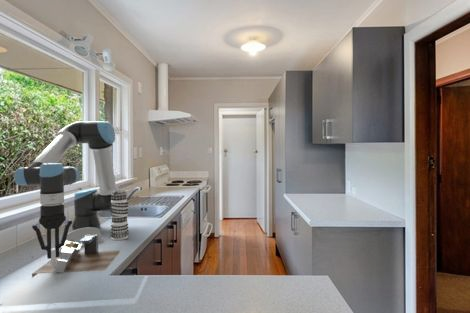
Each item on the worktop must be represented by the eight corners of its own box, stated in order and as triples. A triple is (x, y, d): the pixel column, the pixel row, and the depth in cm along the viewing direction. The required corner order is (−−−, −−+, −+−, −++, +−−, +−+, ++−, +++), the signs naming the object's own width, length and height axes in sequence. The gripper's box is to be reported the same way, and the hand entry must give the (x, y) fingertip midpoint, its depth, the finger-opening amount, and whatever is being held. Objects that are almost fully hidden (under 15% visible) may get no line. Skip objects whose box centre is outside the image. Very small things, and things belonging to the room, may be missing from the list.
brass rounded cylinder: (68, 259, 120) (67, 242, 119) (75, 259, 120) (74, 241, 120) (64, 262, 117) (64, 244, 116) (71, 261, 117) (71, 244, 117)
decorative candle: (110, 241, 142) (109, 192, 142) (110, 236, 151) (109, 190, 150) (129, 238, 146) (128, 191, 145) (128, 233, 155) (127, 189, 154)
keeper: (86, 255, 124) (86, 234, 124) (98, 254, 125) (97, 234, 125) (78, 262, 116) (78, 240, 116) (91, 262, 117) (90, 240, 117)
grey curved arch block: (66, 253, 127) (64, 231, 129) (64, 254, 130) (61, 232, 132) (104, 243, 139) (101, 223, 141) (101, 244, 142) (98, 225, 144)
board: (59, 256, 123) (59, 253, 123) (120, 253, 126) (120, 250, 126) (32, 276, 104) (32, 273, 104) (105, 273, 107) (105, 269, 106)
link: (62, 250, 120) (66, 237, 121) (79, 253, 123) (83, 239, 123) (48, 270, 103) (53, 255, 103) (69, 273, 105) (73, 258, 105)
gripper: (31, 207, 98) (32, 274, 99) (73, 203, 106) (74, 265, 106) (31, 204, 104) (32, 266, 105) (71, 200, 112) (72, 258, 112)
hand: (53, 266), depth 106 cm, fingers closed
